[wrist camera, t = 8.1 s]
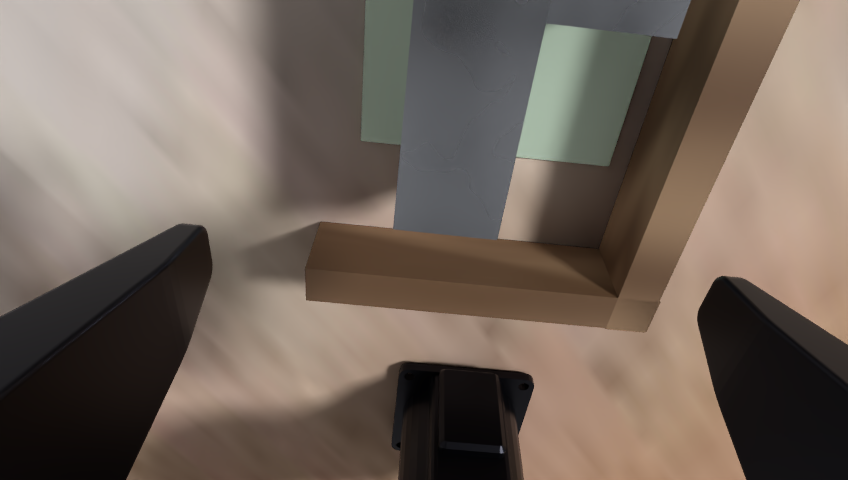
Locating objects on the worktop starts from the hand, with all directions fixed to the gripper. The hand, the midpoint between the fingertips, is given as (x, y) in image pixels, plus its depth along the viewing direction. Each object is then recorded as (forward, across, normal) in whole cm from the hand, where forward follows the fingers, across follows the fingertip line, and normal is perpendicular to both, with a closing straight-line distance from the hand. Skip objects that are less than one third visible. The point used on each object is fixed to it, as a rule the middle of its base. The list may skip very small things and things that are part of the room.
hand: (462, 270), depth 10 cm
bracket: (+10, -2, -2) cm, 11 cm away
